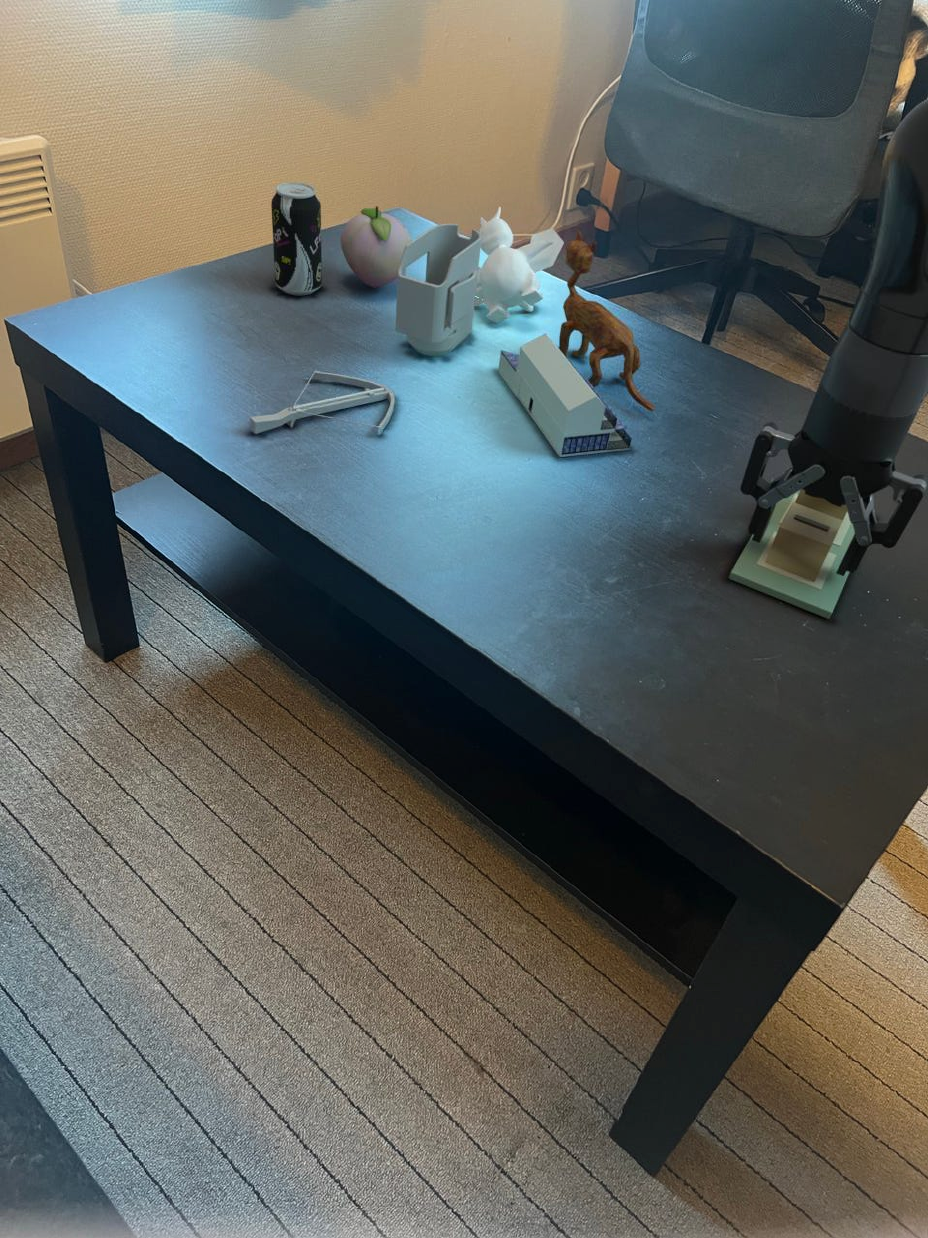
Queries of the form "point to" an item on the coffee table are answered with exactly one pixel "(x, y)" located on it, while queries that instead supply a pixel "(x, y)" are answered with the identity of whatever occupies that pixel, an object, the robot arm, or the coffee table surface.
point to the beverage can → (297, 238)
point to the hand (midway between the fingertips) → (799, 553)
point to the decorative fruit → (374, 246)
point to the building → (562, 400)
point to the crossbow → (328, 404)
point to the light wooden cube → (821, 505)
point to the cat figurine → (597, 325)
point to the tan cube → (803, 541)
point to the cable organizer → (438, 290)
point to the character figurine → (512, 268)
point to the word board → (786, 584)
